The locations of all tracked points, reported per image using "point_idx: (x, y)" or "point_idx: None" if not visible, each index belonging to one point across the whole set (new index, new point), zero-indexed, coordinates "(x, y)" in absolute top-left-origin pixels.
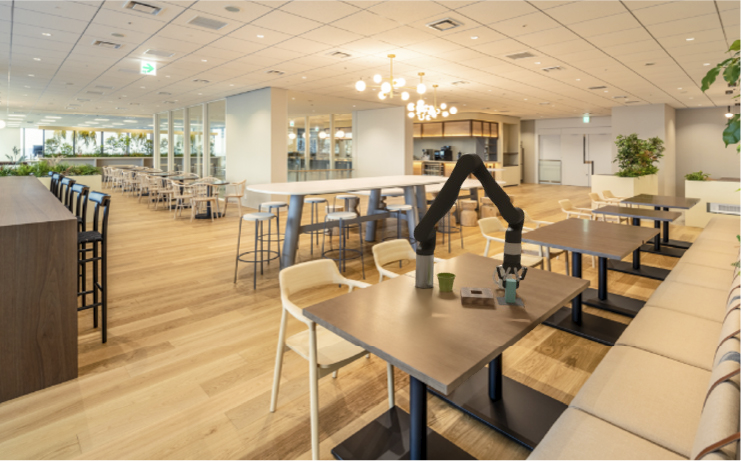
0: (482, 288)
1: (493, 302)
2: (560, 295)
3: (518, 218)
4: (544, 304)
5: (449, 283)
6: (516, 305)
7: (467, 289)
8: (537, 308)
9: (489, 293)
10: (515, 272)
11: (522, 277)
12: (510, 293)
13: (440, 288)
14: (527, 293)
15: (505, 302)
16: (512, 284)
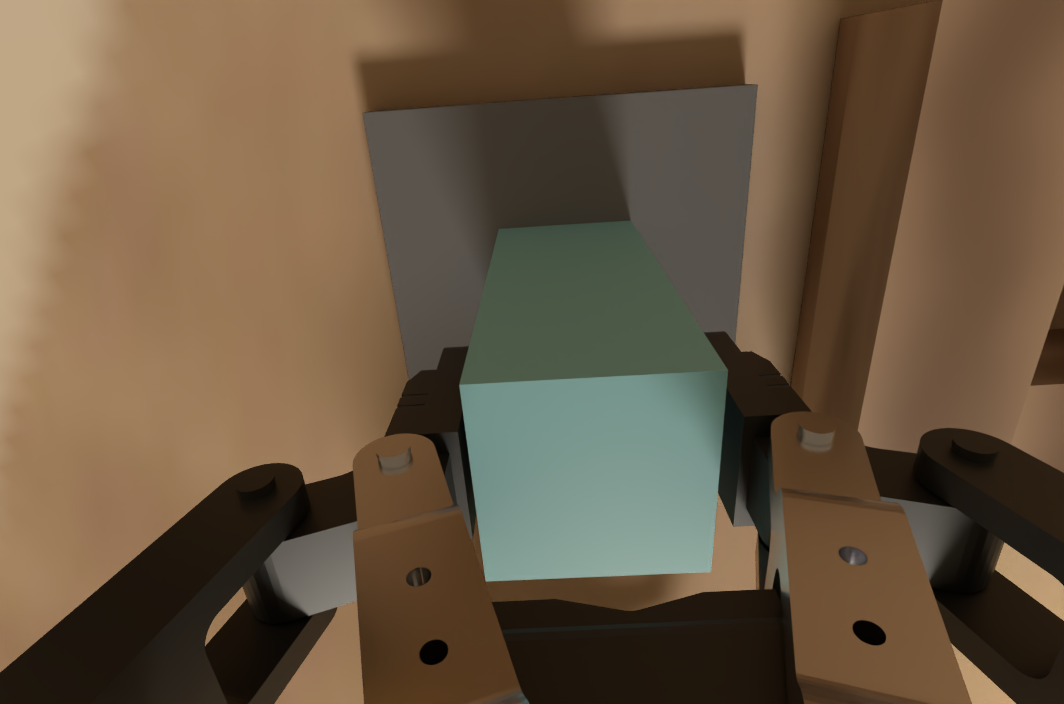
0: None
1: (892, 9)
2: (9, 627)
3: None
4: (125, 330)
5: None
6: (485, 113)
7: None
8: (194, 150)
9: (937, 277)
10: (474, 639)
11: (245, 523)
12: (581, 266)
13: None
14: (341, 622)
15: (636, 215)
16: (563, 340)
